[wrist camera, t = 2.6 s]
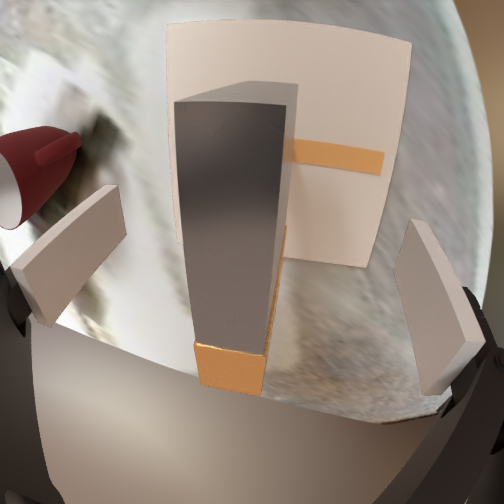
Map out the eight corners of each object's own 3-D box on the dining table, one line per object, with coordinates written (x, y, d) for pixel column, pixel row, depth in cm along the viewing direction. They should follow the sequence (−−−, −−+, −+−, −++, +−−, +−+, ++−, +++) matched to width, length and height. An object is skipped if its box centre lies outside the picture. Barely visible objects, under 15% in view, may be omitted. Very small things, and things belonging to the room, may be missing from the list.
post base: (172, 25, 18) (115, 16, 12) (407, 43, 16) (452, 37, 10) (181, 237, 30) (147, 290, 23) (365, 261, 28) (376, 324, 21)
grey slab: (247, 80, 13) (168, 102, 6) (300, 84, 13) (291, 106, 5) (241, 261, 19) (201, 384, 12) (282, 266, 19) (260, 395, 12)
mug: (86, 83, 21) (5, 108, 13) (121, 153, 25) (51, 201, 17) (31, 135, 25) (-35, 171, 17) (61, 192, 29) (2, 240, 21)
